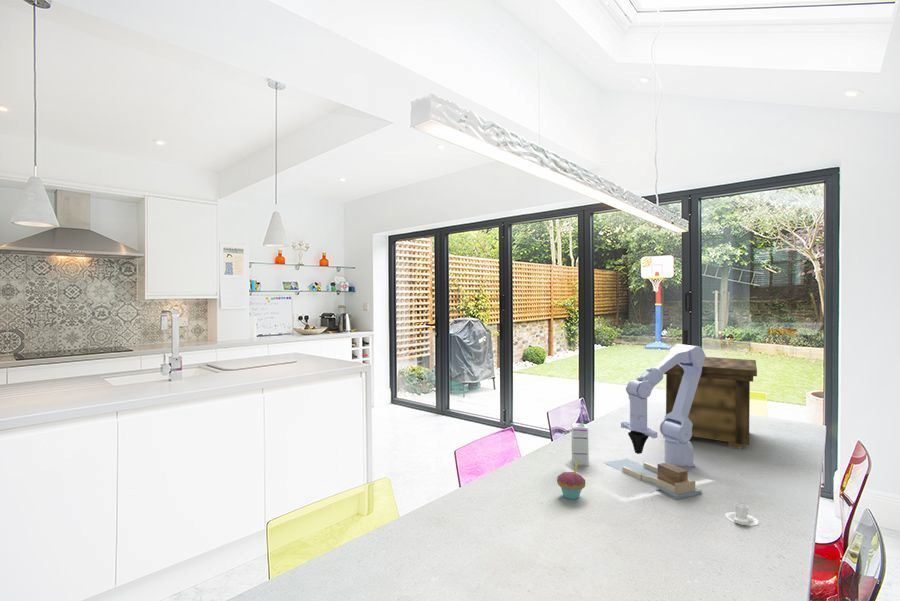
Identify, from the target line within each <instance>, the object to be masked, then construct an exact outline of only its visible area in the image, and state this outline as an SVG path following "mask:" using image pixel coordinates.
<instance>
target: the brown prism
mask: <svg viewBox="0 0 900 601" xmlns="http://www.w3.org/2000/svg"><path fill="white" fill-rule="evenodd" d="M657 467H658V473H657V478H658V479H660V480H662V481H665V482H667V483H669V484H672V485H674V486H675V483H678V482H683V481H687V480H689V477H688V476H689V475H688V474H689V471H688V470H686V469H684V468H682V467H680V466H676V465H672V464H669V463H667V462H660V463H657Z"/></svg>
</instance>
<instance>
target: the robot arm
mask: <svg viewBox="0 0 900 601" xmlns="http://www.w3.org/2000/svg"><path fill="white" fill-rule="evenodd" d="M705 357H707V356H706V353H705V352H704V349H703V347H701V346H700V345H699V346H698V345H688V344H682V343H675V344H674V345H673V347H671V348H670V349H669V353H667V355H666V356H665V357H663V359H662V360H661V361H660V362H659V363H658V364H657V365H656V366H650V367H646V370H645V371H643V373H641V375H639V376H638V377H637V378H636V379H631V380H630V381H629V382H628V383H627V384H626V387H625V391H626V393H627V395H628V399H629V422H627V421H620V428H622V429H627V430H629V432H627V435H628V436H629V439H630V440H631V443H632V445H633V446H632V447H633V451H634V453H635V454H636V455H640V454H642V453H643V450H644V447H645V444H646V442H647V441H648V438H649V437H650V438H652V439H657V438H658V431H657V430H653V429H651V428H650V427H648V398H649V397H650V396H651V394H652V391H653V390H654V387H656V386H657V385H658V384H659V383H660V382H661V381H663V379H664V375H665V374H664V373H666V372H667V371H668V370H670V369H671V368H672V367H674V366H675V365H676V364H679V365H680V366H681V367H682V368H683V370H684V374H683V377H682V381H681V384H680V387H679V390H678V394H677V397H676V400H675V404H674V407H673V410H672V412H670V413H668V414H667V415H666V414H665V416H664V419H663V420H662V421H661V423H659V424H660V425H659V431H660V434H661V435H662V437H663V439H664V463H666V462H667V463H669V464H672V465H674V466H677V467H682V466H687V467H690V468H691V467H696V464H695V463H694V448H693V444H692V442H691V441H690V440H691V439H692V437H693V436H692V426H693V424H692V422H691V421H690V419H689V418H688V415H689V412H690V409H691V405H692V402H693V399H694V395H695V392H696V389H697V386H698V382H699V379H700V376H701V372H702V366H703V363H704V360H705ZM676 421H677V422H681V424H680V423H677V422H676Z"/></svg>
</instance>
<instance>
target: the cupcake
mask: <svg viewBox="0 0 900 601" xmlns="http://www.w3.org/2000/svg"><path fill="white" fill-rule="evenodd" d="M578 466H579V465H578V459H577V460H576V464H575V466H574V471H570V472H569V471H568V472H567V471H564V472H562V473H559V475H558V476H557V478H556V483H557V484H558V486H559V487H560V489H561V491H562V496H563V497H564V498H566V499H569V500H576V499H580V495H581V493H582V489H584V488H585V487H586V479H585V478H584V477H583V475H581V474H579V473H578V471H577V470H578Z"/></svg>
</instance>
